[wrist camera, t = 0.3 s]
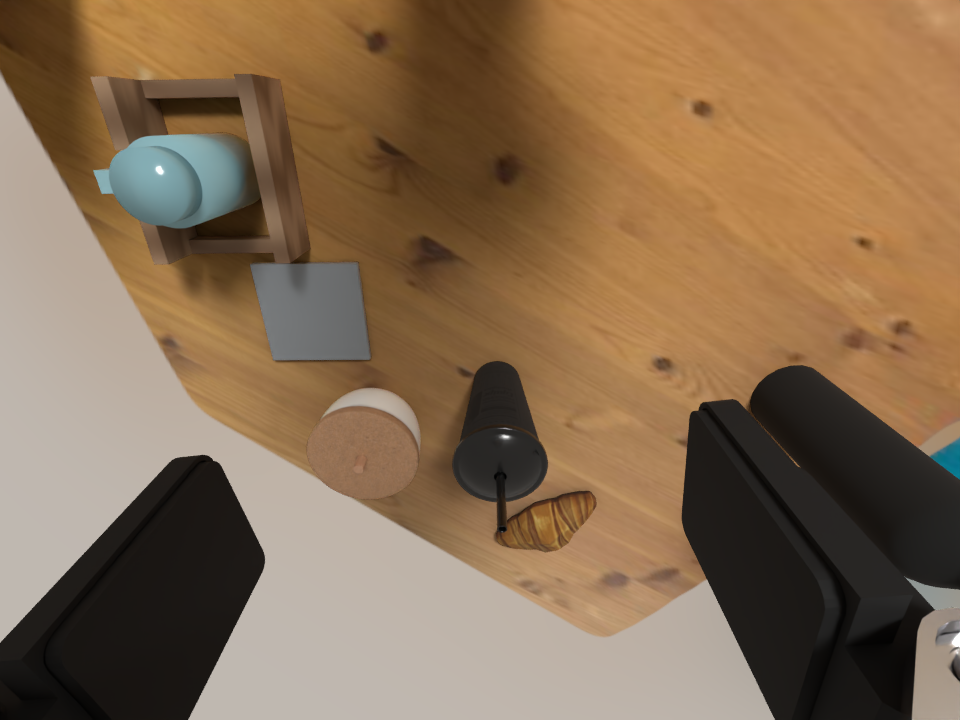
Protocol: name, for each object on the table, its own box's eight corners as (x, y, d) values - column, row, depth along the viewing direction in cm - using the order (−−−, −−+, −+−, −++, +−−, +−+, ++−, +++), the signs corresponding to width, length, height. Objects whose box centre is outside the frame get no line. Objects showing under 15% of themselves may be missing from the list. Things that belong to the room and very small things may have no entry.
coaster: (252, 262, 44) (249, 264, 43) (358, 261, 43) (356, 263, 43) (275, 357, 48) (273, 360, 48) (371, 357, 48) (370, 359, 47)
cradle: (138, 82, 37) (90, 76, 32) (279, 79, 37) (251, 73, 32) (188, 249, 43) (154, 264, 39) (310, 248, 43) (290, 263, 38)
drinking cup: (462, 411, 51) (448, 567, 33) (459, 349, 47) (443, 486, 30) (531, 411, 51) (555, 567, 33) (534, 348, 47) (562, 486, 30)
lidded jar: (443, 395, 50) (434, 450, 42) (405, 464, 55) (390, 526, 46) (349, 354, 48) (320, 404, 40) (317, 430, 52) (285, 488, 44)
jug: (147, 133, 39) (33, 138, 29) (257, 132, 39) (178, 136, 29) (170, 208, 41) (73, 235, 32) (272, 207, 41) (206, 234, 32)
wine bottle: (816, 353, 47) (1245, 656, 20) (831, 407, 50) (1222, 734, 23) (741, 384, 49) (1046, 701, 22) (760, 435, 52) (1049, 768, 25)
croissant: (511, 547, 61) (513, 581, 56) (484, 515, 58) (483, 548, 54) (605, 508, 58) (615, 540, 53) (581, 472, 55) (589, 503, 50)
